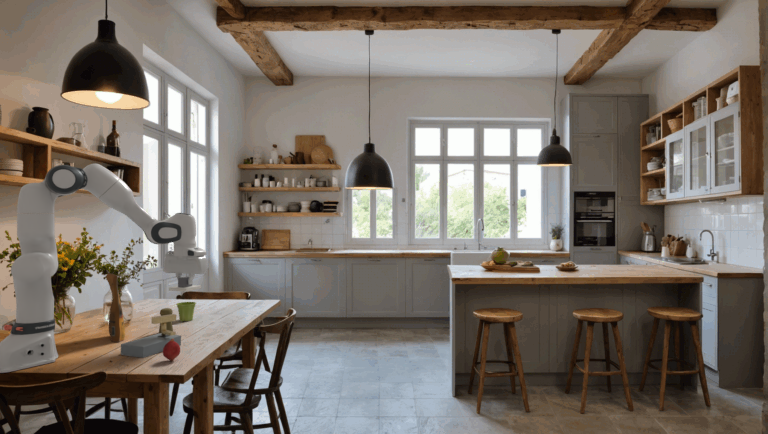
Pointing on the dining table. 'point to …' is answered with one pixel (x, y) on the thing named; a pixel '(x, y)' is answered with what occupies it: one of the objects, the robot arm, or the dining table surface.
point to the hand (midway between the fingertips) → (185, 284)
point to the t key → (164, 323)
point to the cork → (168, 324)
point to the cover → (184, 285)
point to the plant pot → (186, 310)
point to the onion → (171, 350)
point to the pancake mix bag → (115, 311)
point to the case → (148, 345)
